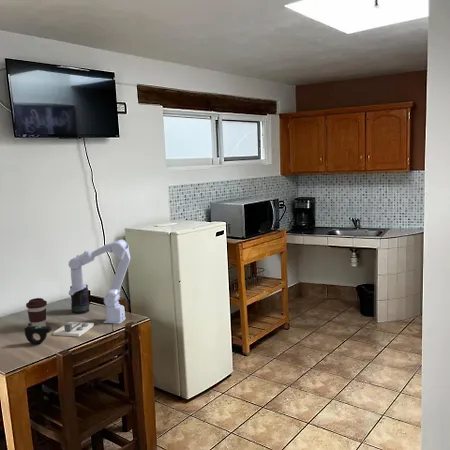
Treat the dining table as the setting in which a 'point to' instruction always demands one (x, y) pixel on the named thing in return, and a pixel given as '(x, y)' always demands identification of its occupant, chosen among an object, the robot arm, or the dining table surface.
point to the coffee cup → (37, 311)
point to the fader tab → (68, 326)
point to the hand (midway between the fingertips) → (78, 304)
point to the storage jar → (84, 304)
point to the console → (74, 329)
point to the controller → (38, 330)
